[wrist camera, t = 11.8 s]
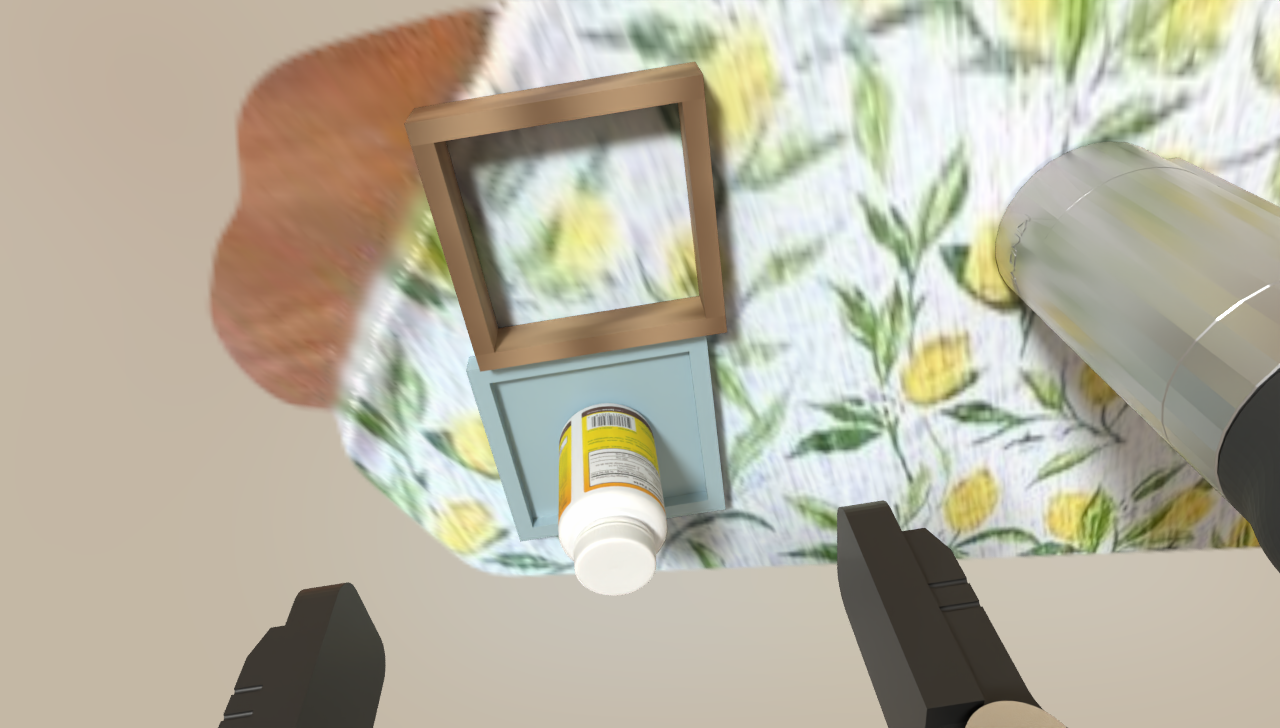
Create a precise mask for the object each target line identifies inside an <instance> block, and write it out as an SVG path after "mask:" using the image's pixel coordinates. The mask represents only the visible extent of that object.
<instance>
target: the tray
mask: <svg viewBox="0 0 1280 728" xmlns="http://www.w3.org/2000/svg"><path fill="white" fill-rule="evenodd" d="M466 372H467V375H468V378H469V381H470V384H471V388H472V391H473V394H474V397H475V400H476V403H477V406H478V410H479V413H480V416H481V419H482V422H483V425H484V428H485V432H486V435H487V438H488V441H489V444H490V447H491V450H492V454H493V457H494V460H495V463H496V466H497V469H498V472H499V476H500V479H501V482H502V485H503V488H504V491H505V494H506V498H507V501H508V504H509V507H510V510H511V513H512V516H513V520H514V523H515V526H516V529H517V532H518V535H519V538H520V541H527V540H533V539H539V538H546V537H552V536H559V534H558V511H559V440H560V435H561V432H562V430H563V428H564V426H565V424H566V423H567V421H568V420H569V419H570V418H571V417H572V416H573V415H574V414H576V413H577V412H579V411H580V410H582V409H584V408H586V407H589V406H592V405H596V404H601V403H614V404H620V405H624V406H627V407H629V408H632V409H633V410H635V411H637V412H638V413H639V414H641V415H642V416H643V417H644V418H645V419H646V421H647V422H648V424H649V425H650V427H651V430H652V432H653V436H654V441H655V448H656V455H657V461H658V467H659V474H660V481H661V487H662V494H663V500H664V506H665V512H666V519H667V518H674V517H680V516H686V515H693V514H699V513H706V512H712V511H718V510H725V500H724V491H723V482H722V473H721V464H720V455H719V446H718V437H717V428H716V419H715V410H714V401H713V392H712V383H711V374H710V365H709V356H708V347H707V338H706V336H701V337H695V338H688V339H682V340H676V341H670V342H663V343H657V344H651V345H645V346H638V347H632V348H626V349H620V350H613V351H607V352H601V353H595V354H588V355H582V356H576V357H570V358H563V359H557V360H551V361H545V362H538V363H532V364H526V365H520V366H513V367H507V368H501V369H495V370H488V371H482V372H480V369H479V366H478V363H477V360H476V356H474V357H469V360H468V365H467V370H466Z"/></svg>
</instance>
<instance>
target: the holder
mask: <svg viewBox="0 0 1280 728" xmlns="http://www.w3.org/2000/svg"><path fill="white" fill-rule="evenodd" d="M672 103H678V111H679V120H680V129H681V137H682V146H683V155H684V164H685V173H686V181H687V190H688V199H689V208H690V217H691V226H692V234H693V243H694V252H695V261H696V270H697V278H698V287H699V296H696V297H690V298H684V299H677V300H671V301H665V302H659V303H653V304H646V305H640V306H634V307H628V308H622V309H615V310H609V311H603V312H597V313H590V314H584V315H578V316H572V317H566V318H559V319H553V320H547V321H541V322H534V323H528V324H522V325H516V326H510V327H503V328H498V325H497V322H496V318H495V315H494V311H493V308H492V304H491V300H490V297H489V293H488V290H487V286H486V283H485V279H484V276H483V272H482V268H481V265H480V261H479V258H478V254H477V251H476V247H475V244H474V240H473V236H472V233H471V229H470V226H469V222H468V219H467V215H466V211H465V208H464V204H463V201H462V197H461V194H460V190H459V187H458V183H457V179H456V176H455V172H454V169H453V165H452V162H451V158H450V155H449V151H448V147H447V144H446V141H448V140H454V139H460V138H466V137H472V136H478V135H484V134H490V133H496V132H502V131H509V130H515V129H521V128H527V127H533V126H539V125H545V124H551V123H557V122H563V121H569V120H575V119H581V118H587V117H593V116H600V115H606V114H612V113H618V112H624V111H630V110H636V109H642V108H648V107H654V106H660V105H666V104H672ZM404 125H405V128H406V131H407V135H408V138H409V141H410V144H411V148H412V151H413V154H414V157H415V161H416V164H417V167H418V170H419V174H420V177H421V180H422V183H423V187H424V190H425V193H426V197H427V200H428V203H429V206H430V210H431V213H432V216H433V219H434V223H435V226H436V229H437V232H438V236H439V239H440V242H441V245H442V249H443V252H444V255H445V258H446V262H447V265H448V268H449V272H450V275H451V278H452V281H453V285H454V288H455V291H456V294H457V298H458V301H459V304H460V307H461V311H462V314H463V317H464V320H465V324H466V327H467V330H468V333H469V337H470V340H471V343H472V347H473V350H474V353H475V356H476V360H477V363H478V366H479V369H480V372H482V371H488V370H495V369H501V368H507V367H513V366H520V365H526V364H532V363H538V362H545V361H551V360H557V359H563V358H570V357H576V356H582V355H588V354H595V353H601V352H607V351H613V350H620V349H626V348H632V347H638V346H645V345H651V344H657V343H663V342H670V341H676V340H682V339H688V338H695V337H701V336H707V335H713V334H720V333H726V332H727V326H726V316H725V305H724V294H723V284H722V273H721V263H720V252H719V241H718V231H717V220H716V209H715V199H714V188H713V178H712V167H711V156H710V146H709V135H708V124H707V114H706V103H705V93H704V82H703V74H702V72H701V71H700V69H699V67H698V66H697V64H696V62H691V63H685V64H679V65H673V66H667V67H661V68H655V69H649V70H643V71H636V72H630V73H624V74H618V75H612V76H606V77H600V78H594V79H588V80H582V81H576V82H570V83H564V84H558V85H552V86H546V87H540V88H534V89H528V90H522V91H516V92H510V93H504V94H498V95H492V96H486V97H479V98H473V99H467V100H461V101H455V102H449V103H443V104H437V105H431V106H425V107H419V108H414V109H413V111H412V112H411V114H410V115H409V117H408V119H407V120H406V122H405V123H404Z"/></svg>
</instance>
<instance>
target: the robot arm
mask: <svg viewBox="0 0 1280 728" xmlns="http://www.w3.org/2000/svg"><path fill="white" fill-rule="evenodd" d="M996 261H997V264H998V268H999V272H1000V274H1001V276H1002V277H1003V279H1004V281H1005V282H1006V284H1007V285H1008V286H1009V287H1010V288H1011V289H1012V290H1013V291H1014V292H1015V293H1016V294H1017V295H1018V296H1019V297H1020V298H1021V299H1022V300H1023V301H1024V302H1025V303H1026V304H1027V305H1028V306H1029V307H1030V308H1031V309H1032V310H1033V311H1034V312H1035V313H1036V314H1037V315H1038V316H1039V317H1040V318H1041V319H1042V320H1043V321H1044V322H1045V323H1046V324H1047V325H1048V326H1049V327H1050V328H1051V329H1052V330H1053V331H1054V332H1055V333H1056V334H1057V335H1058V336H1059V337H1060V338H1061V339H1062V340H1063V341H1064V342H1065V343H1066V344H1067V345H1068V346H1069V347H1070V348H1071V349H1072V350H1073V351H1074V352H1075V353H1076V354H1077V355H1078V356H1079V357H1080V358H1081V359H1083V360H1084V361H1085V362H1086V363H1087V364H1088V365H1089V366H1090V367H1091V368H1092V369H1093V370H1094V371H1095V372H1096V373H1097V374H1098V375H1099V376H1100V377H1101V378H1102V379H1103V380H1104V381H1105V382H1106V383H1107V384H1108V385H1109V386H1110V387H1111V388H1112V389H1113V390H1114V391H1115V392H1116V393H1117V394H1118V395H1119V396H1120V397H1121V398H1122V399H1123V400H1124V401H1125V402H1126V403H1127V404H1128V405H1129V406H1131V407H1132V408H1133V409H1134V410H1135V411H1136V412H1137V413H1138V414H1139V415H1140V416H1141V417H1142V418H1143V419H1144V420H1145V421H1146V422H1147V423H1148V424H1149V425H1150V426H1151V427H1152V428H1153V429H1154V430H1155V431H1156V432H1157V433H1158V434H1159V435H1160V436H1161V437H1162V438H1163V439H1164V440H1165V441H1166V442H1167V443H1168V444H1169V445H1170V446H1171V447H1172V448H1173V449H1174V450H1175V451H1177V452H1178V453H1179V454H1180V455H1181V456H1182V457H1183V458H1184V459H1185V460H1186V461H1187V462H1188V463H1189V464H1190V465H1191V466H1192V467H1193V468H1194V469H1195V470H1196V471H1197V472H1198V473H1199V474H1200V475H1201V476H1202V477H1203V478H1204V479H1205V480H1207V481H1208V482H1209V483H1210V484H1211V485H1212V486H1213V487H1214V488H1215V489H1216V490H1217V491H1218V492H1219V493H1220V494H1221V495H1222V496H1223V497H1224V498H1225V499H1226V500H1227V501H1228V502H1229V503H1230V504H1231V505H1232V506H1233V507H1234V508H1235V509H1236V510H1237V511H1238V512H1239V513H1240V514H1241V515H1242V516H1243V517H1244V518H1245V519H1246V520H1247V521H1248V522H1249V523H1250V524H1251V526H1252V528H1253V530H1254V533H1255V535H1256V538H1257V540H1258V542H1259V544H1260V546H1261V547H1262V549H1263V551H1264V553H1265V554H1266V556H1267V557H1268V559H1269V560H1270V561H1271V563H1272V564H1273V565H1274V567H1275V568H1276V569H1277V570H1278V571H1279V573H1280V207H1279V206H1277V205H1275V204H1273V203H1270V202H1268V201H1266V200H1264V199H1262V198H1260V197H1258V196H1256V195H1254V194H1252V193H1250V192H1248V191H1246V190H1244V189H1242V188H1240V187H1238V186H1236V185H1234V184H1232V183H1230V182H1228V181H1226V180H1224V179H1222V178H1220V177H1218V176H1215V175H1213V174H1211V173H1209V172H1207V171H1205V170H1203V169H1201V168H1199V167H1197V166H1195V165H1193V164H1191V163H1189V162H1187V161H1185V160H1183V159H1181V158H1173V159H1164V158H1162V157H1160V156H1158V155H1156V154H1154V153H1152V152H1150V151H1148V150H1146V149H1144V148H1142V147H1139V146H1136V145H1133V144H1130V143H1127V142H1111V141H1107V142H1101V143H1094V144H1088V145H1086V146H1083V147H1080V148H1077V149H1074V150H1071V151H1069V152H1067V153H1065V154H1063V155H1062V156H1060V157H1058V158H1056V159H1054V160H1052V161H1051V162H1049V163H1048V164H1047V165H1045V166H1044V167H1043V168H1042V169H1040V170H1039V171H1038V172H1036V173H1035V174H1034V175H1033V176H1032V177H1031V178H1030V179H1029V180H1028V181H1027V182H1026V183H1025V184H1024V185H1023V187H1022V188H1021V189H1020V190H1019V191H1018V192H1017V194H1016V195H1015V197H1014V198H1013V200H1012V201H1011V203H1010V204H1009V206H1008V207H1007V209H1006V212H1005V214H1004V216H1003V218H1002V221H1001V223H1000V226H999V230H998V234H997V239H996ZM837 569H838V580H839V587H840V592H841V596H842V600H843V603H844V607H845V610H846V613H847V615H848V618H849V621H850V623H851V626H852V629H853V632H854V635H855V637H856V640H857V643H858V646H859V648H860V651H861V654H862V657H863V659H864V662H865V665H866V667H867V670H868V673H869V676H870V678H871V681H872V684H873V687H874V689H875V692H876V695H877V698H878V700H879V703H880V706H881V708H882V711H883V714H884V717H885V720H886V722H887V725H888V728H1067V727H1065V726H1064V724H1062V723H1061V722H1060V721H1059V720H1057V719H1056V718H1055V717H1054V716H1052V715H1051V714H1049V713H1047V712H1046V711H1044V710H1043V709H1042V708H1041V707H1040V706H1039V704H1038V703H1037V702H1036V701H1035V700H1034V698H1033V697H1032V695H1031V694H1030V692H1029V691H1028V689H1027V687H1026V685H1025V683H1024V682H1023V680H1022V678H1021V676H1020V674H1019V672H1018V671H1017V669H1016V667H1015V665H1014V663H1013V662H1012V660H1011V658H1010V656H1009V654H1008V653H1007V651H1006V649H1005V647H1004V645H1003V643H1002V642H1001V640H1000V638H999V636H998V635H997V633H996V631H995V629H994V627H993V625H992V623H991V622H990V620H989V618H988V616H987V614H986V612H985V611H984V609H983V607H981V606H980V604H979V600H978V598H977V596H976V594H975V592H974V591H973V589H972V587H971V585H970V584H968V583H967V579H966V576H965V574H964V572H963V571H962V569H961V567H960V566H959V563H958V561H957V560H956V558H955V556H954V554H953V552H952V551H951V549H949V548H948V547H947V546H946V545H945V544H943V543H942V542H941V541H940V540H939V539H938V538H936V537H935V536H934V535H933V534H932V533H930V532H929V531H928V530H927V529H926V528H921V529H915V530H908V531H901V529H900V526H899V524H898V522H897V520H896V518H895V516H894V514H893V512H892V510H891V508H890V506H889V505H888V503H887V502H886V501H877V502H871V503H864V504H858V505H851V506H845V507H839V508H838V512H837ZM384 677H385V653H384V647H383V643H382V640H381V638H380V636H379V634H378V632H377V630H376V628H375V626H374V624H373V622H372V620H371V618H370V616H369V614H368V612H367V610H366V608H365V606H364V604H363V602H362V600H361V598H360V596H359V594H358V592H357V590H356V589H355V587H354V586H353V585H352V584H351V583H341V584H335V585H329V586H322V587H316V588H309V589H304V590H302V591H300V592H299V593H298V595H297V596H296V598H295V601H294V603H293V606H292V609H291V611H290V614H289V617H288V619H287V622H286V625H285V626H280V627H273V628H270V629H269V631H268V632H267V633H266V634H265V636H264V637H263V638H262V640H261V641H260V642H259V643H258V644H257V645H256V647H255V648H254V649H253V650H252V652H251V653H250V654H249V655H248V657H247V658H246V661H245V663H244V666H243V668H242V671H241V673H240V676H239V678H238V680H237V683H236V685H235V688H234V690H235V694H234V695H231V698H230V700H229V703H228V705H227V707H226V710H225V713H224V721H221V723H220V725H219V727H218V728H373V725H374V721H375V717H376V712H377V708H378V704H379V699H380V695H381V691H382V686H383V682H384Z"/></svg>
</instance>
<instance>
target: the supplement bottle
mask: <svg viewBox="0 0 1280 728" xmlns="http://www.w3.org/2000/svg"><path fill="white" fill-rule="evenodd" d="M558 534H559V540H560V543H561V546H562V548H563V550H564V551H565V553H566V554H567V555H568V556H569V557H570V558H571V559H572V560H573V561H574V563H575V573H576V576H577V578H578V580H579V581H580V583H581V584H582V585H583V586H585V587H586V588H587V589H589V590H591V591H593V592H595V593H598V594H603V595H623V594H628V593H631V592H634V591H636V590H638V589H640V588H642V587H643V586H645V585H646V584H647V583H648V582H649V581H650V580H651V579H652V577H653V575H654V573H655V570H656V554H657V553H658V551H659V550H660V549H661V547H662V545H663V543H664V541H665V538H666V534H667V519H666V512H665V506H664V500H663V494H662V487H661V481H660V474H659V467H658V461H657V455H656V448H655V441H654V436H653V432H652V430H651V427H650V425H649V424H648V422H647V421H646V419H645V418H644V417H643V416H642V415H641V414H639V413H638V412H637V411H635V410H633V409H632V408H629V407H627V406H624V405H620V404H614V403H601V404H596V405H592V406H589V407H586V408H584V409H582V410H580V411H579V412H577V413H576V414H574V415H573V416H572V417H571V418H570V419H569V420H568V421H567V423H566V424H565V426H564V428H563V430H562V432H561V435H560V440H559V511H558Z"/></svg>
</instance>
